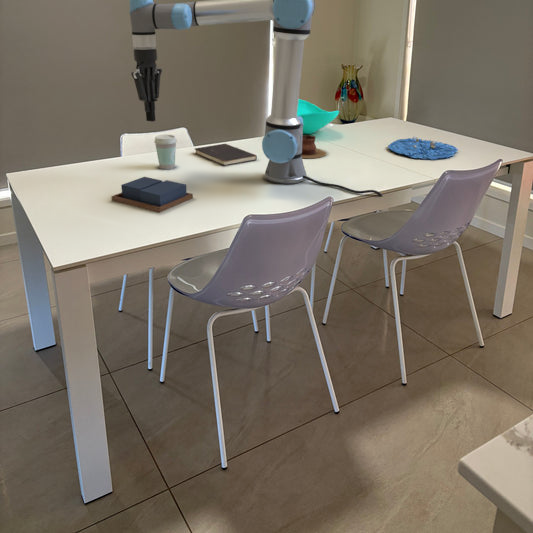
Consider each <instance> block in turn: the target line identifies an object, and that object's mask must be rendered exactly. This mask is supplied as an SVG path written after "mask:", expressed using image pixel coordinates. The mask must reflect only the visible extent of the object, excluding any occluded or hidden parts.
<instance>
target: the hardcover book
mask: <svg viewBox="0 0 533 533" xmlns="http://www.w3.org/2000/svg"><path fill="white" fill-rule="evenodd" d="M194 150H195V152H194V155H197V156H199V157H201V158H204V159H206V160H208V161H211V162H213V163H216V164H218V165H220V166H223V167H228V166H233V165H239V164H244V163H249V162H250V163H251V162H255V161H257V159H258V156H257V155H256V154H254V153H253V152H249V151H246V150H244V149H241V148H238V147H236V146H233V145H231V144H227V143H221V144H214V145H208V146H202V147H196V148H194Z"/></svg>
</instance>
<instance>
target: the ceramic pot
mask: <svg viewBox="0 0 533 533" xmlns="http://www.w3.org/2000/svg"><path fill="white" fill-rule="evenodd" d="M316 139H317V138H316V136H315V135H311V134H303V137H302V159H317V158H321V157H325V156H326V155H327V152H326V151H324V150H322V149H321V148H317V145H316V143H315V142H316Z"/></svg>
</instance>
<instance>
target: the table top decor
mask: <svg viewBox="0 0 533 533" xmlns="http://www.w3.org/2000/svg"><path fill="white" fill-rule="evenodd" d="M339 114H340V110H334V111H328V110H324V109H322V108H321V107H318V106H317V105H316V104H314V103H311V102H310V101H307V100H304V99H300V98H299V99H298V109H297V116H300V117H302V118H303V124H304V126H303V135H311V134H314V133H315V132H318V131H319V130H320V129H323V128H324V127H327V125H329V124H330V123H332V122H333V121H334V120H335V119H336V118H337V117H338V115H339Z"/></svg>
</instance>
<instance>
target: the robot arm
mask: <svg viewBox="0 0 533 533" xmlns="http://www.w3.org/2000/svg"><path fill="white" fill-rule="evenodd" d="M315 11H316V0H199V1H184V2H177V3H176V2H175V3H155V2H154V0H129V18H130V26H131V37H132V45H133V46H132V48H134V49H133V50H132V51H133V60H134V61H135V62H136V66H135V69H136V70H135V71H132V72H131V77H132V78H133V81H134V84H135V88H136V92H137V96H138V100H139V101H141V102H142V103H143V104H144V112H145V118H146V122H156V102H157V101H158V99H159V98H160V86H161V76H162V73H163V70H162V68H159V67H158V66H157V62H156V61H158V51H157V49H156V48H157V37H156V35H157V34H156V30H177V31H180V30H189V29H190V28H191V27H199V26H210V25H211V26H212V25H222V24H223V25H224V24H238V23H239V24H240V23H251V22H261V21H262V22H264V21H272V22H273V24H272V26H273V27H272V33H273V34H274V35H275V36H276V48H275V63H274V74H273V83H272V84H273V85H272V86H273V87H272V97H271V111H270V114H269V115H268V116H267V117H266V119H265V126H264V127H265V128H264V135H263V136H264V137H263V138H262V141H261V149H262V152H263V154H264V156H265V157H266V158H267V160H268V162H267V165H266V167H265V168H266V169H265V172H264V179H265V180H266V181H268V182H269V183H273V184H280V185H292V184H293V185H294V184H299V183H303V182H304V181H306V180H308V181H310V182H312V183H314V184H317V185H321V186H325V187H326V186H327V187H332V188H338V189H342V190H344V191H347V192H350V193H352V194H353V193H354V194H368V193H369V194H370V193H372V194H376V195H377V196H379V197H380V198H383V197H384V196H383V194H382V193H381V192H379V191H377V190H375V189H366V190H355V189H351V188H348V187H346V186H343V185H340V184H335V183H328V182H322V181H318V180H315V179H313V178H311V177H309V176H307V171H306V167H305V164H304V161H303V158H302V137H303V135H304V134H303V126H304V124H303V118H302V117H300V116H297V109H298V99H300V88H301V80H302V79H301V78H302V68H303V58H304V50H305V49H304V48H305V41H306V39H308V38H309V37H310V35H311V27H312V18H313V16H314V14H315Z"/></svg>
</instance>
